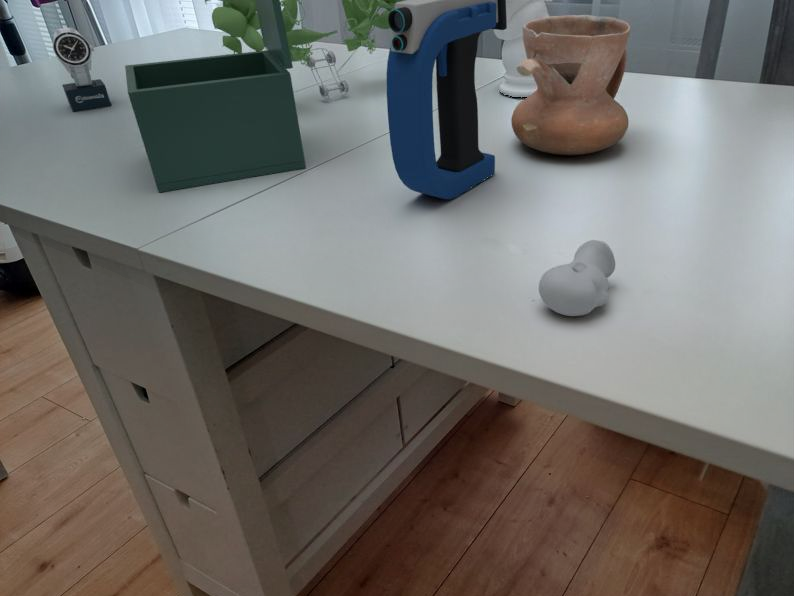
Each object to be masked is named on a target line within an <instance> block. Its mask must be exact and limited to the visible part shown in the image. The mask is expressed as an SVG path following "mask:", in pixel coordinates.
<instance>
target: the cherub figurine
mask: <svg viewBox="0 0 794 596" xmlns="http://www.w3.org/2000/svg"><path fill="white" fill-rule="evenodd" d="M553 1H554V0H506V19H507V28H506V29H505V30H496V29H493V33H494V36H495V37H496V38H497V39H499V40H504V41H503V44H502V48H501V62H502V65H503V68H504V70H505V73H504V74H503V79H504V81H505V82H502V83H501V84H500V85H499V86H498V91H499V90H500V92H501V93H500V92H499V93H500V94H502V93H503V94H506V95H509V96H508V97H510V96H513V97H521V98H522V97H529V96H530V95H531V94H532V93H534V92H535V91H536V90H537V84H536V82H535V80H534V77H533V74H531V75H529V76H522V75H520V73H518V71H517V67H518V65H519V64H521V63H522V62H523V61H525V60H527V56H526V51H525V47H524V41H523V25H524V24H525V23H526V22H529V21H531V20H534V19H538V18H544V17H545V18H546V17H550V16H551V15H549V11H548V9H547V5H546V3H545V2H547V3H550V2H553ZM503 94H502V95H503Z"/></svg>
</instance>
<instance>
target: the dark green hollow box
mask: <svg viewBox="0 0 794 596" xmlns="http://www.w3.org/2000/svg"><path fill="white" fill-rule="evenodd" d="M124 70H125V77H126V87H127V88H126V89H127V95H128V98H129V101H130V104H131V107H132V111H133V114H134V118H135V120H136V124H137V128H138V130H139V132H140V137H141V140H142V143H143V146H144V150H145V153H146V156H147V159H148V162H149V166H150V169H151V172H152V176H153V178H154V182H155V186H156V188H157V192H158V193H164V192H171V191H176V190H182V189H183V190H184V189H188V188H194V187H200V186H201V187H202V186H207V185H211V184H219V183H225V182H230V181H237V180H242V179H243V180H244V179H249V178H255V177H260V176H261V177H262V176H266V175H272V174H279V173H284V172H290V171H295V170H303V169H306V168H307V166H306V161H305V153H304V147H303V143H302V142H303V141H302V135H301V129H300V123H299V118H298V112H297V106H296V101H295V94H294V86H293V81H292V76H291V72H290V71H289V70H288V69H286V68H285V67H284V66H283V65H282V64H281V63H280V62H279V61H278V60H277V59H276V58H275V57H274V56H273V55H272V54H271V53H270V52H269V51H268V50H267V49H265V50H262V51H256V50H255V51H248V52H242V53H235V54H234V53H229V54H221V55H211V56H210V55H209V56H202V57H193V58H192V57H191V58H181V59H173V60H165V61H164V60H163V61H154V62H146V63H137V64H126V65H124Z"/></svg>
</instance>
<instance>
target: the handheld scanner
mask: <svg viewBox="0 0 794 596" xmlns="http://www.w3.org/2000/svg"><path fill="white" fill-rule="evenodd" d="M388 23H389V26H390V28H389V29H391V31H392V32H391V33H392V34H391V43H390V48H389V49H388V50H389V51H388V55H387V56H388V57H387V64H386V108H387V120H388V121H387V122H388V132H389V142H390V150H391V157H392V162H393V165H394V169H395V171H396V173H397V176H398V178H399V180H400V181H401V182H402V184H403V185H404V186H405V187H406V188H408V189H409V190H411V191H413V192H416V193H419V194H423V195H427V196H431V197H433V198H439V199H442V200H453V199H456V198H458V197H459V195H460V194H461V195H463V194H464V193H463V192H465V191H466V192H468V191H469V190H468V189H470V188H471V187H473V186H475V185H476V184H478V183H480V182H481V181H483V180H484V179H486V178H487V177H489V176H491V175H493V174H494V173H496V156H495V154H491V153H486V152H482V151H481V150H480V147H479V109H478V97H477V96H478V95H477V91H476V82H475V81H476V78H475V77H476V75H475V74H476V73H475V72H476V60H477V59H476V58H477V54H478V46H479V38H480V36H481V34H482V33H483V32H486V31H489V30H494V29H496V30H505V29H506V28H507V19H506V0H406V1H402V2H397V3H395V9H393V10H391V11H390V13H389V15H388ZM434 68H435V76H436V77H435V78H436V101H437V115H438V116H437V117H438V128H439V129H438V130H439V146H440V156H439V157H438V159H437V158H436V150H435V149H436V148H435V134H434V133H435V131H434V108H433V106H434V105H433V76H434ZM494 175H495V174H494ZM494 175H493V176H494ZM491 177H492V176H491ZM486 180H487V179H486ZM483 182H484V181H483ZM481 183H482V182H481ZM481 183H480V184H481ZM478 185H479V184H478ZM476 186H477V185H476ZM476 186H475V187H476ZM473 188H474V187H473ZM471 189H472V188H471ZM471 189H470V190H471ZM467 190H468V191H467ZM466 192H465V193H466ZM462 193H463V194H462ZM461 195H460V196H461ZM457 196H458V197H457ZM455 197H456V198H455Z"/></svg>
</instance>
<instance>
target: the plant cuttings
mask: <svg viewBox="0 0 794 596" xmlns="http://www.w3.org/2000/svg"><path fill="white" fill-rule="evenodd" d="M209 1H210V0H204V3H205V4H207V2H209ZM220 1H221V2H222V6H217V7H215V8H214V9H213V11H212V13H211V21H212V24H213V27H214V30H220V31H222V32H224V33H226V34H228V35H223V36H222V46H221V47H222V48H223V47H225V48H227V49H229V50H230V51H233V54H238V53H243V45H242V42H243V43H244V44H245V45H246V46H247V47H249V48H250V49H251V50H253V51H255V52H256V51H264V49H265V50H267V49H266V48H265V46H264V42H263V37H262V34H261V33H260V32H259V31H258V30H261V28H260V24H259V19H258V15H257V10H256V5H255V1H254V0H219V2H220ZM402 1H406V0H341V3H342V4H341V5H342V7H343V12H344V15H345V18H346V20H345V21H344V28H343V29H344V35H346V37H347V38H345V39H343V40H342V42H343V44H344V45H346V48H347V51H348V52H352V54H351V55H350V56H349V57H348V58H347V60H346V61H345V62H344V63H343V64H342V66H341V67H340V68H339V69H338V70H337V69H336V62H337V58H336V54H335V53H334V52H333V50H328V49H327V48H324V47H323V48H322V47H319V48H313V44H312V43H315V42H317V41H319V40H321V39H323V38H328V37H329V36H331V35H334V34H337V33H338V30H337V29H335V30H332V31H329V32H324V33H323V32H319V31H315V30H311V29H306V26H305V25H304V26H302V27H301V28H296V29H294V27H295V25H296V26H300V24H301V22H302V21H303V20H304V19H305V17H306V10H305V7H304V5H303V2H302V1H300V0H280V4H281V7H283V8H282V14H283V19H284V24H285V30H286V35H287V40H288V45H289V50H290V55H291V60H292V63H293V62H300V64H301V65H305V66H306V67H307V68H309V69H310V71H311V73H312V75H313V77H314V80H315V81H316V84H317V86H318V88H319V94H320V96H321V97H322V98H324V99H326V100H328V101H338V100H341V99H343V98H344V97H345V95H346V94H348V92H349V90H350V88H349V84H348V82H347V81H346V80H345V79H343V80H341V78H340V75H339V71H341V69H342V68H343V67H344V66H345V65H346V64H347V63H348V61H349V60H350V59H351V58H352V57H353V55H354V53H355V52H353V51H357V50H358V49H359V48H361V46H363V47H364V48H367V49H366V51H368V52H369V55H372V54H373V52H375V51H376V49H377V46H376V45H377V44H376V38H377V37H376V34H374V35H373V36H372V37H373V38H371V35H370V34H371V33H372V32H373V31H374V29H375V27H376V28H379V29H381V30H389V29H391V28H390V26H389V23H388V15H389V13H390V11H391V10H393V9H395V3H397V2H402ZM298 4H300V5H301V7H302V9H303V16H302V18H301V19H299V20H298V19H297V18H298V14H299V13H298V11H299V9H298V8H299V7H298ZM380 9H385V11H383V12H382V13H379V11H380ZM347 24H348V26H349V27H348V26H347ZM346 29H347V32H352V34H351V36H349V35H347V32H346ZM352 37H353V38H352ZM240 39H241V40H242V41H241V40H240ZM304 45H305V47H304ZM300 46H301V47H300ZM315 50H321V52H322V53H323V55H324V58H319V59H315V58H314V57H313V56H312V55H313V54H314V53H313V51H315ZM324 50H325V51H326V52H327V54H326V53H325V51H324ZM302 61H303V62H302ZM323 61H326V62H327V64H328V65H324V66H320V67H316V63H319V62H323ZM328 67H329V69H330V72H331V74H332V77H333V79H334V80H335V83H329V84H324V83H323V80H322V79H321V76H320V74H319V71H318V70H317V69H323V68H328ZM331 67H334V69H335V74H336V75H337V78H338V80H339V81H340V82H338V81H337V79H336V77H335V76H336V75H334V72H333V70H332V68H331ZM313 70H315V71H316V74H317V76H318V78H319V80H320V82H321V84H319V82H318V80H317V78H316V75H315V73H314V71H313ZM332 85H333V86H334V85H337V87H333V88H328V86H332ZM336 90H339V91H340V94H341V97H339V98H335V99H334V98H330V96H329V92H332V91H336ZM343 93H344V94H343Z"/></svg>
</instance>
